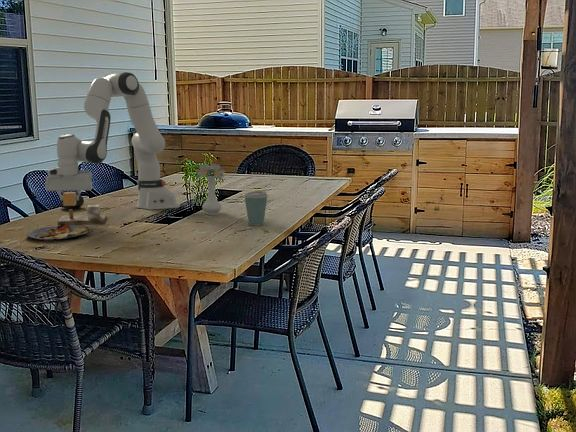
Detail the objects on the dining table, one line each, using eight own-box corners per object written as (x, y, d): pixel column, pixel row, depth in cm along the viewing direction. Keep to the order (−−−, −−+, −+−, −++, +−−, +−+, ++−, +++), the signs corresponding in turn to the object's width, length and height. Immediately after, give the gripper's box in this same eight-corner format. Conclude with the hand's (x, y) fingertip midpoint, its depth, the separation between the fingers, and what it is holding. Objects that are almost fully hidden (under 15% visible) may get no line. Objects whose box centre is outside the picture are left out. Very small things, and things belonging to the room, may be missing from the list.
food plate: (69, 227, 287) (69, 219, 287) (101, 235, 273) (100, 227, 272) (16, 238, 269) (15, 229, 268) (46, 247, 254) (46, 238, 253)
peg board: (106, 217, 310) (105, 203, 309) (103, 223, 297) (103, 208, 295) (62, 218, 307) (61, 204, 305) (57, 224, 293) (56, 209, 292)
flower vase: (227, 210, 330) (227, 161, 325) (221, 217, 312) (220, 165, 307) (202, 210, 331) (201, 161, 326) (194, 216, 313) (193, 165, 308)
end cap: (71, 211, 327) (70, 197, 326) (60, 210, 330) (59, 196, 328) (84, 207, 336) (83, 194, 335) (73, 206, 339) (72, 194, 337)
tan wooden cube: (76, 203, 302) (75, 192, 301) (74, 205, 297) (74, 193, 296) (65, 203, 301) (64, 192, 300) (63, 205, 296) (62, 193, 295)
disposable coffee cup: (250, 227, 288) (249, 194, 286) (240, 223, 298) (240, 190, 295) (271, 225, 293) (271, 192, 290) (261, 221, 303) (261, 189, 300)
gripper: (92, 169, 301) (93, 198, 304) (46, 169, 298) (47, 199, 300) (91, 170, 295) (92, 201, 298) (43, 171, 291) (45, 201, 294)
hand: (69, 200), depth 299 cm, fingers closed on tan wooden cube, 5 cm apart
